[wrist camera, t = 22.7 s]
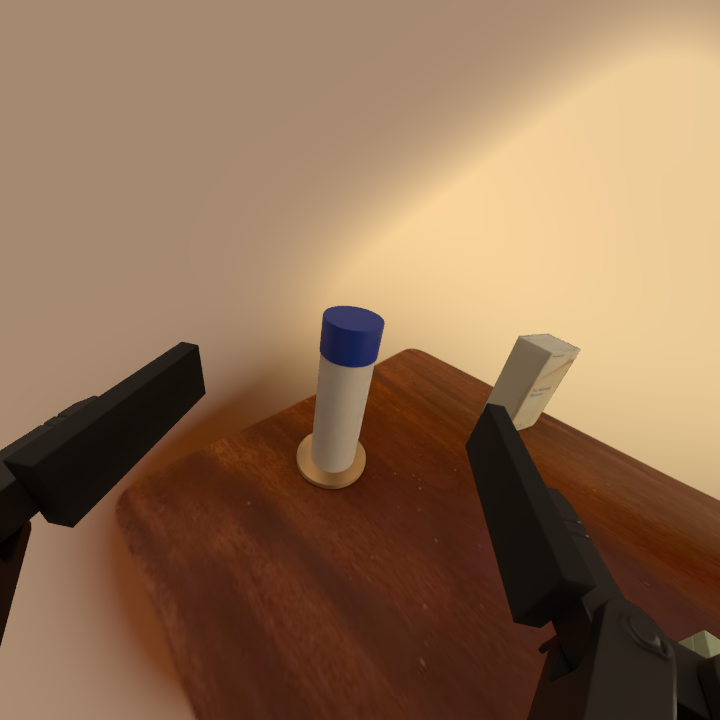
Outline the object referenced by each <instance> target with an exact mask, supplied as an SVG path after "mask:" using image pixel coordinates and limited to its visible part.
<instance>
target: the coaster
mask: <svg viewBox="0 0 720 720" xmlns="http://www.w3.org/2000/svg"><path fill="white" fill-rule="evenodd" d="M312 436H313V433H312V434H310V435H308V436H307V437H306V438H305V439H304V440H303V441H302V442H301V443H300V445H299V447H298V450H297V457H296V462H297V467H298V469H299V471H300V473H301V474H302V476H303V477H304V478H305V479H306V480H307V481H308V482H310V483H312V484H313V485H315V486H318V487H321V488H326V489H338V488H343V487H346V486H348V485H350V484H352V483H354V482H355V481H356V480H357V479H358V478H359V477H360V476H361V474H362V472H363V470H364V467H365V463H366V455H365V451H364V448H363V447H362V445H361V444H360V442H359V441H358V443H357V447H356V452H355V456H354V460H353V463H352V464H351V466H350V467H349V468H347V469H346V470H344V471H342V472H337V473H330V472H326V471H323V470H321V469H319V468H318V467H317V466H316V465H315V464H314V463H313V461H312V459H311V446H312Z"/></svg>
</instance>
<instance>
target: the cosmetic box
mask: <svg viewBox="0 0 720 720" xmlns="http://www.w3.org/2000/svg"><path fill="white" fill-rule="evenodd" d="M579 352H580V349H579V348H577V347H575V346H573V345H571V344H569V343H566V342H564V341H562V340H560V339H558V338H556V337H554V336H552V335H550V334H539V335H527V336H519V337H518V339H517V341H516V343H515V345H514V347H513V350H512V352H511V354H510V355H509V357H508V360H507V361H506V364H505V366H504V368H503V370H502V372H501V374H500V376H499V378H498V380H497V382H496V384H495V386H494V388H493V390H492V392H491V394H490V396H489V398H488V400H487V402H486V404H487V403H491V404H496V405H501V406H505V408H506V410H507V412H508V414H509V416H510V418H511V420H512V422H513V424H514V426H515V428H516V430H517V431H518V430H521V429H524V428H527V427H531V426H533V425H534V424H535V422H536V421H537V419H538V417H539V416H540V414H541V413H542V411H543V410H544V408H545V406H546V405H547V403H548V402H549V400H550V398H551V397H552V395H553V394H554V392H555V390H556V389H557V387H558V385H559V384H560V382H561V381H562V379H563V377H564V376H565V374H566V373H567V371H568V369H569V368H570V366H571V365H572V363H573V361H574V360H575V358H576V357H577V355H578V353H579ZM486 404H485V406H486ZM485 406H484V408H485ZM484 408H483V410H484ZM483 410H482V412H483ZM482 412H481V413H482Z"/></svg>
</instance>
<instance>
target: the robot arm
mask: <svg viewBox="0 0 720 720" xmlns="http://www.w3.org/2000/svg"><path fill="white" fill-rule="evenodd" d="M205 393H206V392H205V386H204V379H203V373H202V366H201V360H200V354H199V347H198V345H195V344H190V343H185V342H181V343H179V344H178V345H176V346H175V347H173V348H172V349H170V350H169V351H167V352H166V353H164V354H163V355H161V356H160V357H158V358H156V359H155V360H154V361H152V362H150V363H149V364H147V365H146V366H144V367H143V368H141V369H140V370H138V371H137V372H135V373H134V374H132V375H131V376H130V377H128V378H126V379H125V380H123V381H122V382H120V383H119V384H118V385H116V386H114V387H113V388H111V389H110V390H108V391H107V392H105V393H104V394H102V395H101V396H99V397H98V396H92V397H90V398H87V399H85V400H83V401H80V402H77V403H75V404H73V405H72V406H70V407H68V408H67V409H65V410H64V411H62V412H61V413H59V414H58V416H57V417H53V418H51V419H50V420H48V421H46V422H45V423H44V425H42V426H41V425H40V426H38V427H37V428H35V429H34V430H32V431H31V432H29V433H27V434H26V435H24V436H23V437H21V438H19V439H18V440H16V441H15V442H13V443H12V444H10V445H8V446H7V447H5V448H4V449H2V450H1V451H0V645H1V642H2V638H3V634H4V631H5V627H6V623H7V619H8V616H9V611H10V608H11V604H12V600H13V596H14V593H15V589H16V585H17V582H18V578H19V574H20V570H21V566H22V563H23V559H24V555H25V551H26V548H27V544H28V540H29V536H30V532H31V522H30V521H29V520H30V519H31V518H32V517H33V516H34V515H35V514H37V513H38V512H39V511H40V512H41V514H42V515H43V516H44V518H45V519H46V520H47V522H48V523H53V524H57V525H62V526H67V527H71V528H73V527H74V526H75V525H76V524H77V523H78V522H79V521H80V520H81V519H82V518H83V517H84V516H85V515H86V514H87V513H88V512H89V511H90V510H91V509H92V508H93V507H94V506H95V505H96V504H97V503H98V502H99V501H100V500H101V499H102V498H103V497H104V496H105V495H106V494H107V493H108V492H109V491H110V490H111V489H112V488H113V487H114V486H115V485H116V484H117V483H118V482H119V481H120V479H122V478H123V476H125V475H126V474H127V473H128V471H130V470H131V469H132V467H133V466H134V465H135V464H136V463H137V462H138V461H139V460H140V459H141V458H142V457H143V456H144V455H145V454H146V453H147V452H148V451H149V450H150V449H151V448H152V447H153V446H154V445H155V444H156V443H157V442H158V441H159V440H160V439H161V438H162V437H163V436H164V435H165V434H166V433H167V432H168V431H169V430H170V429H171V428H172V427H173V426H174V425H175V424H176V423H177V422H178V421H179V420H180V419H181V418H182V417H183V416H184V415H185V414H186V413H187V412H188V411H189V410H190V409H191V408H192V407H193V406H194V405H195V404H196V403H197V402H198V401H199V400H200V399H201V398H202V397H203V396H204V395H205ZM465 447H466V450H467V454H468V458H469V461H470V465H471V468H472V472H473V476H474V479H475V483H476V487H477V490H478V494H479V497H480V501H481V505H482V508H483V512H484V516H485V519H486V523H487V526H488V530H489V534H490V537H491V541H492V545H493V548H494V552H495V556H496V559H497V563H498V566H499V570H500V574H501V577H502V581H503V585H504V588H505V592H506V595H507V599H508V603H509V606H510V610H511V614H512V617H513V621H514V623H519V624H524V625H528V626H533V627H538V628H541V627H543V626H544V625H545V624H547V623H548V622H549V621H551V620H552V623H553V625H554V628H555V631H556V634H557V635H555V636H554V637H552V638H551V639H549V640H548V641H546V642H545V643H543V644H542V645H541V647H540V648H539V651H540V652H541V653H542V654H543V653H545V652H546V651H548V650H549V651H548V654H547V658H546V661H545V664H544V667H543V671H542V674H541V677H540V680H539V683H538V687H537V690H536V693H535V696H534V699H533V703H532V706H531V709H530V712H529V716H528V719H527V720H720V654H717V655H715V656H712V657H710V658H705V657H703V656H701V655H700V654H698V653H696V652H694V651H692V650H690V649H688V648H687V647H685V646H683V645H681V644H679V643H677V642H675V641H674V640H672V639H670V638H668V637H666V635H665V634H664V633H663V631H662V630H661V629H660V628H659V626H658V625H657V624H656V623H655V621H654V620H653V619H652V618H651V617H649V616H648V615H647V614H646V613H645V612H644V611H643V610H642V609H641V608H639V607H637V606H636V605H634V604H633V603H631V602H630V601H628V600H626V599H625V597H624V596H623V594H622V593H621V591H620V589H619V587H618V586H617V584H616V582H615V580H614V579H613V577H612V575H611V573H610V572H609V570H608V568H607V566H606V565H605V563H604V561H603V559H602V558H601V556H600V554H599V552H598V551H597V549H596V547H595V545H594V544H593V542H592V540H591V539H590V538H589V537H588V533H587V531H586V530H585V528H584V526H583V525H582V524H581V523H580V522H581V521H580V519H579V517H578V516H577V514H576V512H575V510H574V508H573V507H572V505H571V504H570V503H569V502H568V501H567V499H566V498H565V497H564V496H563V495H562V494H561V493H560V492H559V491H558V490H556V489H551V488H546V486H545V484H544V482H543V480H542V478H541V476H540V474H539V472H538V470H537V468H536V466H535V464H534V462H533V460H532V459H531V457H530V455H529V453H528V451H527V449H526V447H525V445H524V443H523V441H522V439H521V437H520V435H519V433H518V431H517V430H516V428H515V426H514V424H513V422H512V420H511V418H510V416H509V414H508V412H507V410H506V408H505V406H501V405H496V404H491V403H487V404H486V406H485V408H484V410H483V412H482V414H481V416H480V418H479V420H478V422H477V424H476V426H475V428H474V430H473V432H472V434H471V436H470V438H469V440H468V442H467V444H466V446H465Z"/></svg>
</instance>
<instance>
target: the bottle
mask: <svg viewBox="0 0 720 720" xmlns="http://www.w3.org/2000/svg"><path fill="white" fill-rule="evenodd" d="M383 329H384V320H383V319H382V318H381V317H380V316H379V315H378V314H376V313H374V312H372V311H369V310H366V309H363V308H358V307H352V306H337V307H331V308H328V309H327V310H325V312H324V313H323V321H322V331H321V341H320V352H321V356H320V365H319V375H318V385H317V395H316V406H315V416H314V426H313V436H312V446H311V459H312V461H313V463H314V464H315V465H316V466H317V467H318V468H319V469H321V470H323V471H326V472H330V473H337V472H342V471H344V470H346V469H347V468H349V467H350V466H351V464H352V463H353V460H354V456H355V452H356V447H357V443H358V438H359V433H360V429H361V424H362V419H363V415H364V410H365V406H366V401H367V396H368V392H369V387H370V382H371V378H372V373H373V368H374V364H375V361H376V359H377V355H378V351H379V346H380V342H381V338H382V333H383Z"/></svg>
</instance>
